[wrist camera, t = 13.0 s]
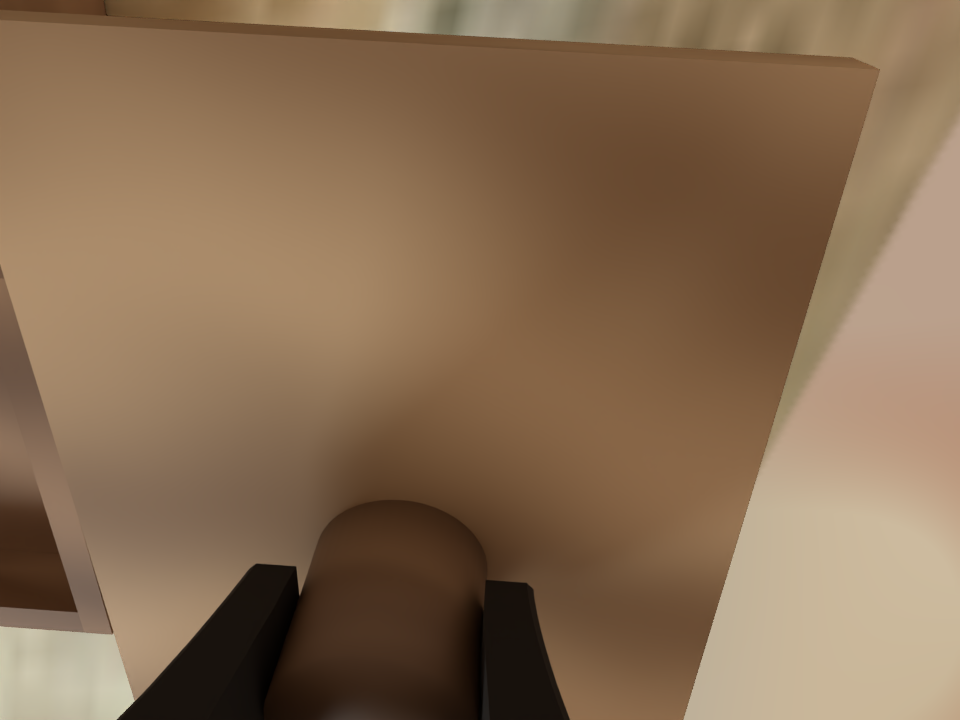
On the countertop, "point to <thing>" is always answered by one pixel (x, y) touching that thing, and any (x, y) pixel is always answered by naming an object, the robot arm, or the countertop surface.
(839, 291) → the countertop surface
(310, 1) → the countertop surface
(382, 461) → the lid
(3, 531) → the long low wooden box
